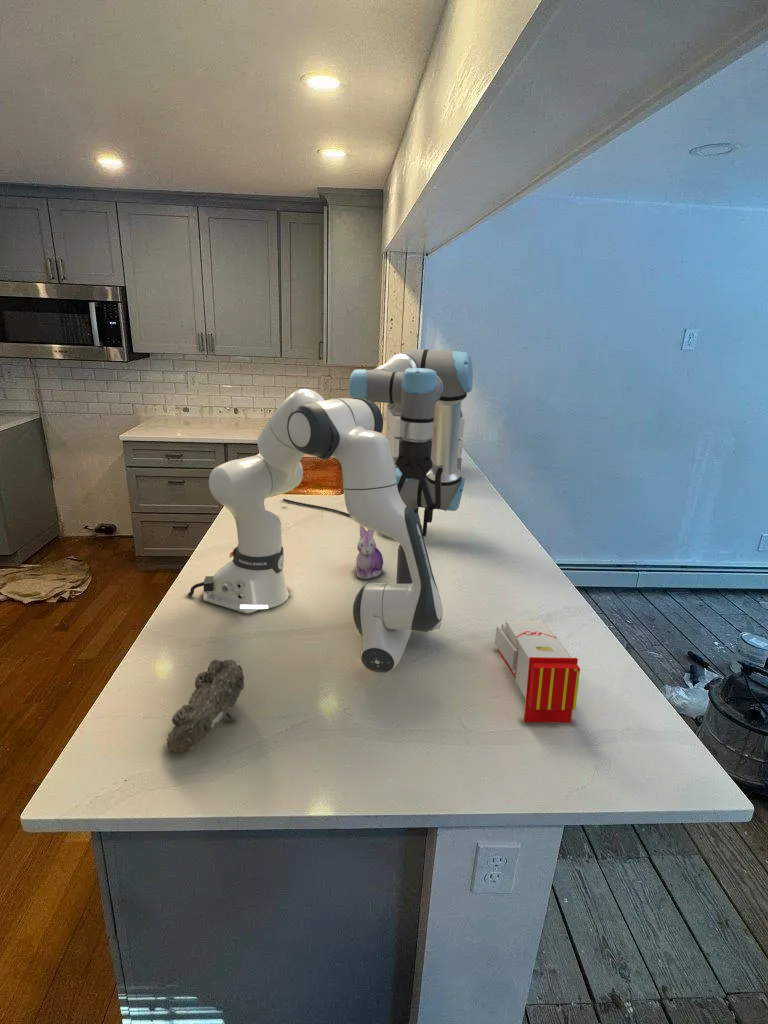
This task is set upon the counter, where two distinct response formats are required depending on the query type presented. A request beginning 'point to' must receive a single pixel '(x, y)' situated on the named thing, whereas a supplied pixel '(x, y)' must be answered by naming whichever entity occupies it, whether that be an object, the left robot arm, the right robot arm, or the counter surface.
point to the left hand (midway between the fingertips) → (406, 596)
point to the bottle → (402, 568)
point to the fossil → (206, 705)
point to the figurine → (368, 556)
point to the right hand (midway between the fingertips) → (409, 532)
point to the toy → (540, 670)
